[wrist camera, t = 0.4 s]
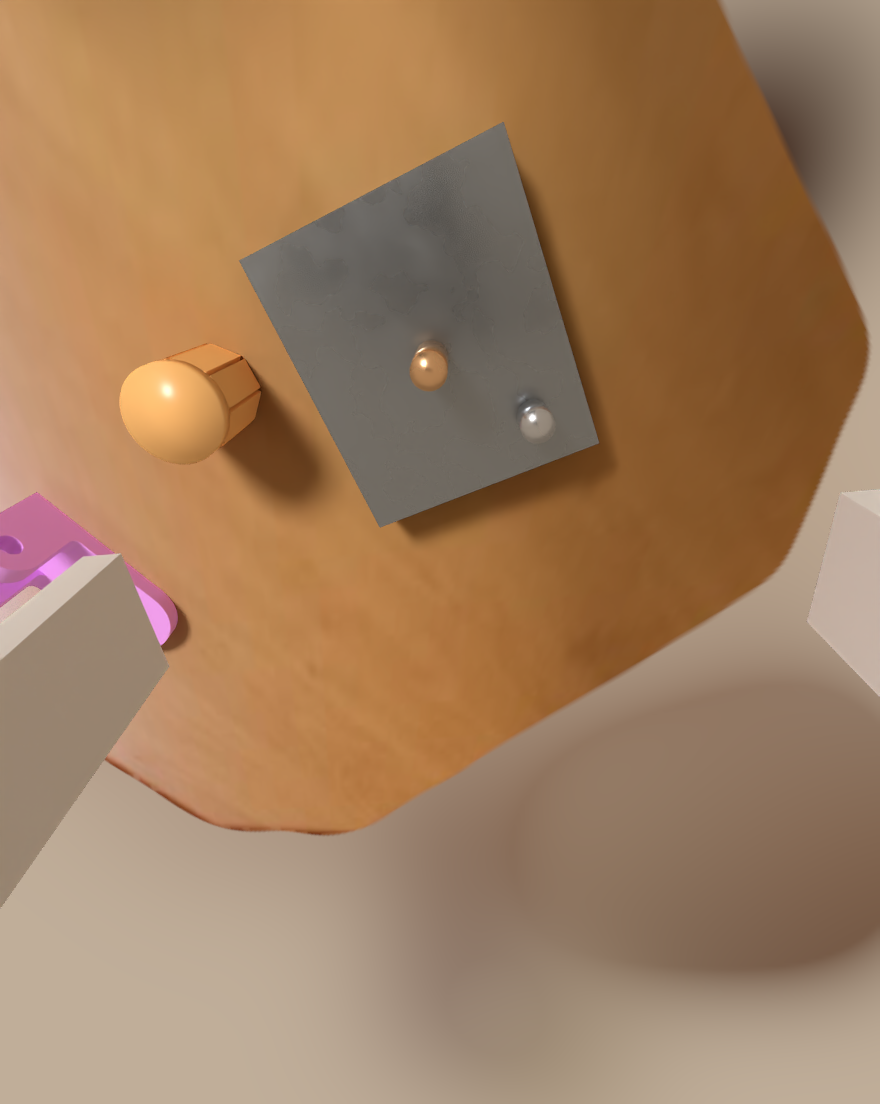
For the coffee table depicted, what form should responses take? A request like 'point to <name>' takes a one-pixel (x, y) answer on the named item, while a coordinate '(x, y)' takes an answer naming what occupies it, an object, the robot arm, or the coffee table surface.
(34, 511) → the bracket
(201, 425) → the orange faceted knob
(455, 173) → the block
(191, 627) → the coffee table surface
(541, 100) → the coffee table surface
